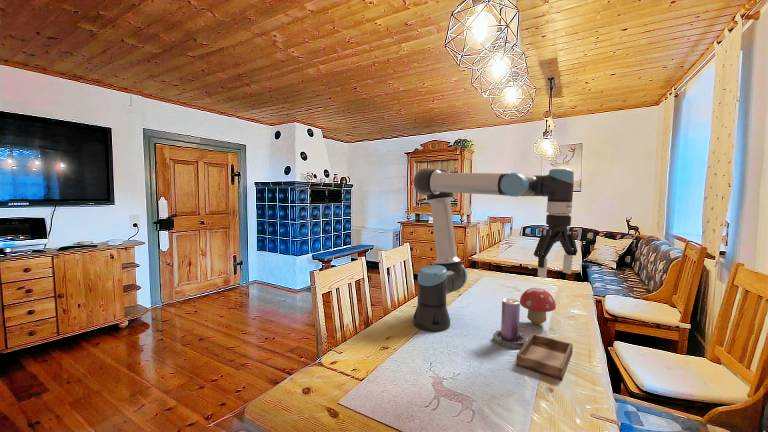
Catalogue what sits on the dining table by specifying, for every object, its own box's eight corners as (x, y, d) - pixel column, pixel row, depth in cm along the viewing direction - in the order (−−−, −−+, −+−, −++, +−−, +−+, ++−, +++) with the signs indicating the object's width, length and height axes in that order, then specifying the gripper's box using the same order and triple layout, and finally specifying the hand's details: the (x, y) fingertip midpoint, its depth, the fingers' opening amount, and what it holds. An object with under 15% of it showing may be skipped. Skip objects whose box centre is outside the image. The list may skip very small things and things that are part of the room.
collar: (490, 342, 114) (490, 337, 114) (499, 332, 123) (499, 328, 123) (520, 351, 108) (520, 346, 108) (528, 340, 116) (528, 335, 116)
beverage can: (520, 346, 112) (521, 304, 111) (502, 344, 113) (503, 303, 112) (516, 338, 118) (517, 298, 117) (499, 337, 119) (500, 297, 118)
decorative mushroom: (523, 329, 126) (524, 292, 125) (515, 316, 139) (516, 283, 138) (560, 332, 123) (561, 294, 122) (548, 319, 136) (550, 284, 135)
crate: (516, 365, 99) (516, 354, 99) (531, 342, 114) (532, 333, 114) (562, 380, 91) (562, 368, 91) (572, 353, 107) (572, 343, 106)
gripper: (544, 215, 100) (540, 281, 102) (591, 214, 112) (587, 273, 113) (524, 214, 107) (521, 275, 109) (570, 213, 118) (566, 268, 120)
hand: (554, 274), depth 111 cm, fingers open, 13 cm apart
